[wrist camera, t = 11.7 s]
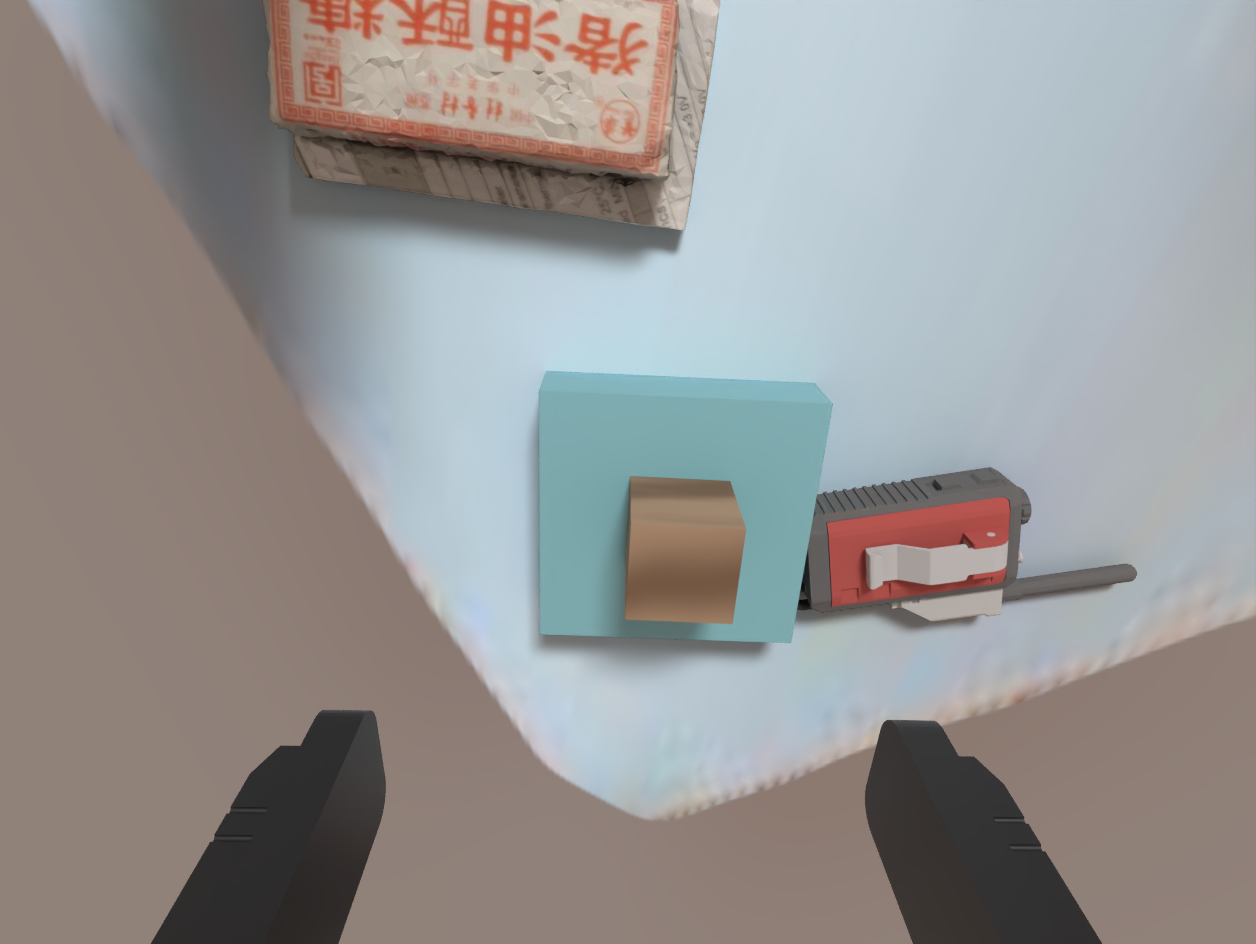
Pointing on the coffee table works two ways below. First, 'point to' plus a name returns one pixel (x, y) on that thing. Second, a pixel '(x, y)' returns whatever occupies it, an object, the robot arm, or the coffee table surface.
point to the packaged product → (500, 99)
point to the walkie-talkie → (929, 548)
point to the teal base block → (674, 448)
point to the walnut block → (682, 550)
